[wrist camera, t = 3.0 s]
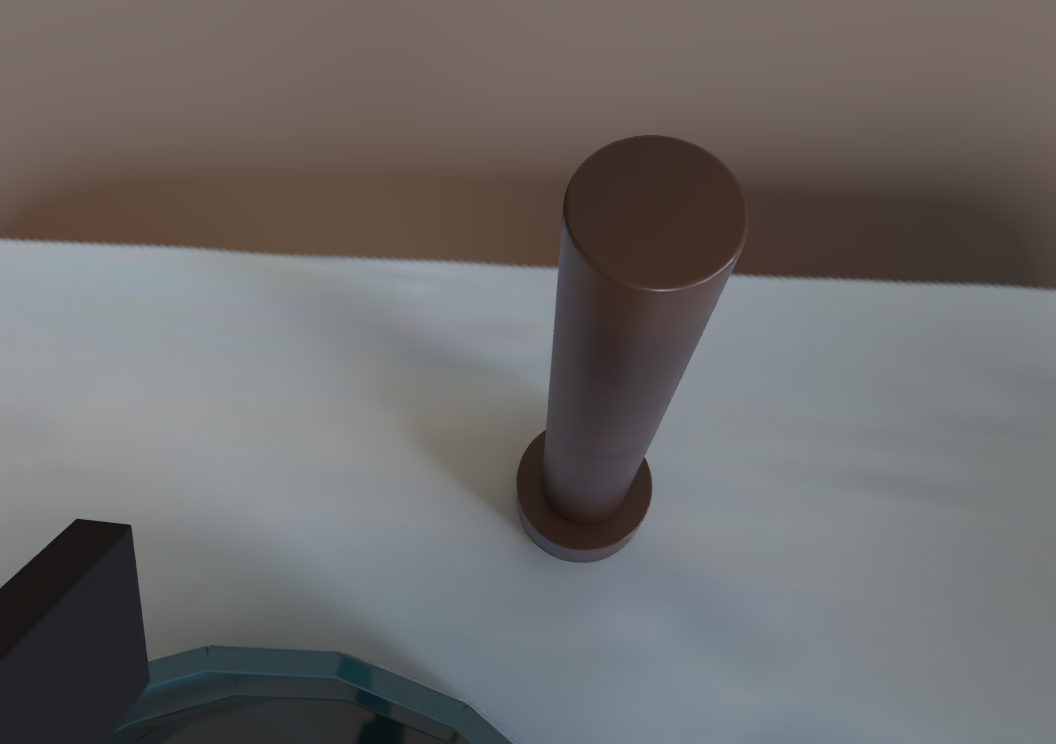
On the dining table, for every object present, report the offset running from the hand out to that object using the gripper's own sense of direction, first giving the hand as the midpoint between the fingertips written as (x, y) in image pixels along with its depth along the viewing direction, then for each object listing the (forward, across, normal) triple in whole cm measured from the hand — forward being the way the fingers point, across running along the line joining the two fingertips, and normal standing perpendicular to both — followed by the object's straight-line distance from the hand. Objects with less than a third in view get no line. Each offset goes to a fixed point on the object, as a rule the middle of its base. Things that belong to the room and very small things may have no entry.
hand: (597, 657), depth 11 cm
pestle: (+13, 0, -5) cm, 14 cm away
